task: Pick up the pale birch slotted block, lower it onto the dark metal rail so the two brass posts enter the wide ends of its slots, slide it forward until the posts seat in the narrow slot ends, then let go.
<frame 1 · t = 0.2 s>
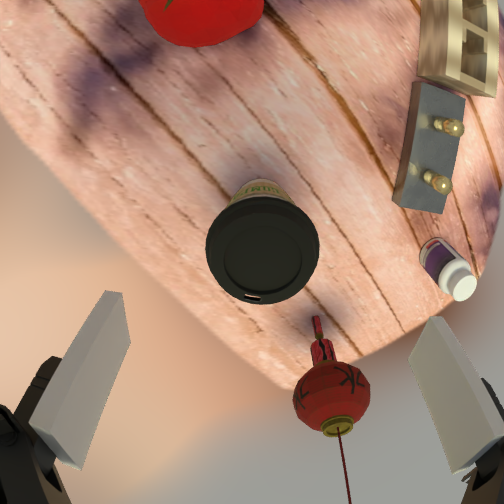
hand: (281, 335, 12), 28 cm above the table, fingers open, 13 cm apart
tomato: (211, 12, 28), on the table
post rail: (426, 147, 34), on the table
coffee cup: (261, 202, 39), on the table
slotted panel: (445, 32, 27), on the table
pill bottle: (433, 252, 42), on the table
lantern: (315, 317, 47), on the table
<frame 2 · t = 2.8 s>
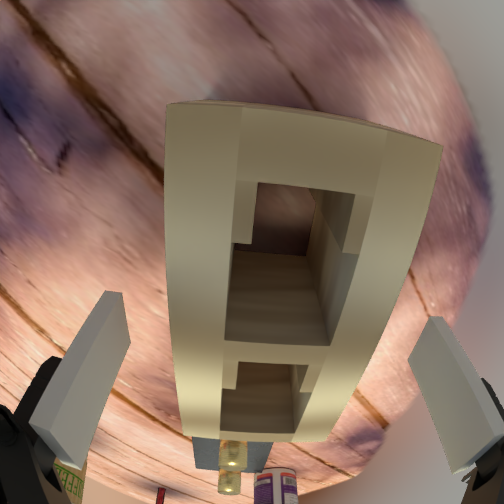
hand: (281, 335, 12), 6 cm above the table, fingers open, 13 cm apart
post rail: (233, 418, 25), on the table
coffee cup: (69, 428, 30), on the table
slotted panel: (270, 254, 17), on the table
pill bottle: (274, 472, 33), on the table
lantern: (162, 487, 38), on the table
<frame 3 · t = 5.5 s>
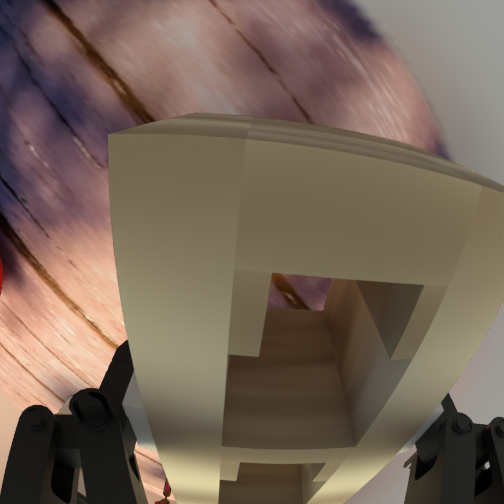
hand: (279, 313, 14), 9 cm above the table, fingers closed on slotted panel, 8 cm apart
coffee cup: (87, 408, 34), on the table
slotted panel: (279, 309, 14), point 9 cm above the table, touching gripper
lantern: (170, 473, 42), on the table
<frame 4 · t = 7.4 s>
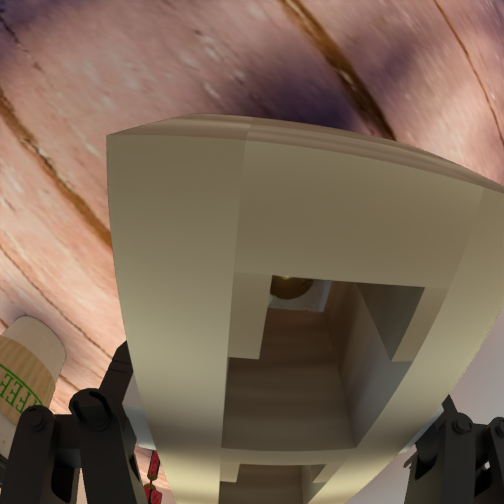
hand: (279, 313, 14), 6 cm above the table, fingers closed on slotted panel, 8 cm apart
post rail: (271, 270, 20), on the table
coffee cup: (40, 340, 24), on the table
slotted panel: (279, 310, 14), point 6 cm above the table, touching gripper
lantern: (158, 448, 32), on the table
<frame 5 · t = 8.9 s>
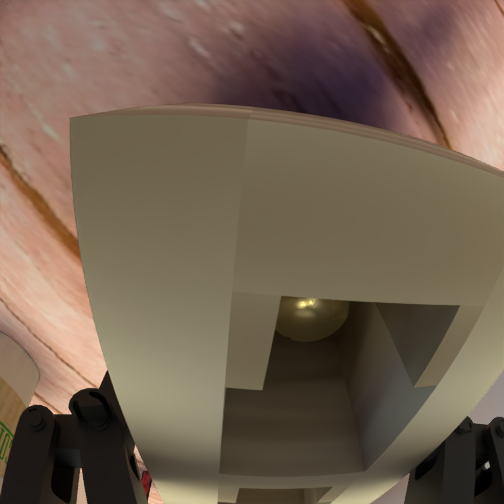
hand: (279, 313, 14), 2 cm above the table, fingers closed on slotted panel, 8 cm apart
post rail: (277, 285, 15), on the table
coffee cup: (12, 356, 19), on the table
slotted panel: (282, 318, 13), point 3 cm above the table, touching gripper
lantern: (148, 471, 28), on the table
when the fingers open (2 cm above the table, at t = 9.6 s): slotted panel stays where it is, resting on post rail.
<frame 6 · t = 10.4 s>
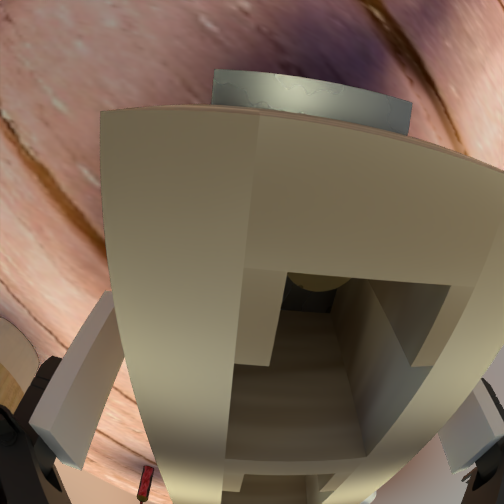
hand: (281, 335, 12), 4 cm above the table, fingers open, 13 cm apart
post rail: (284, 258, 15), on the table
coffee cup: (11, 343, 19), on the table
slotted panel: (284, 312, 13), point 2 cm above the table, touching post rail
lantern: (149, 466, 27), on the table
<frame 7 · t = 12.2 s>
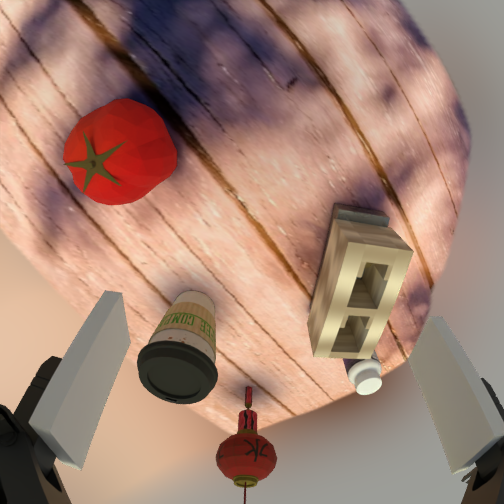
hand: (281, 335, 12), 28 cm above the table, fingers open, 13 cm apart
tomato: (142, 144, 36), on the table
post rail: (345, 261, 43), on the table
coffee cup: (194, 307, 47), on the table
slotted panel: (348, 278, 41), point 2 cm above the table, touching post rail
pill bottle: (354, 343, 49), on the table
lantern: (248, 387, 54), on the table
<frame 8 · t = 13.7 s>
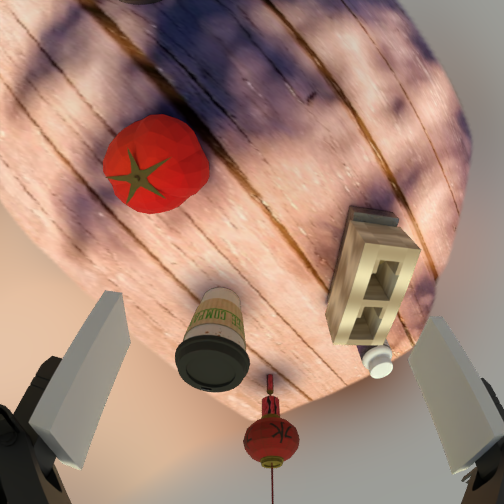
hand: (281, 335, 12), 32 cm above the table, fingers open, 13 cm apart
tomato: (172, 153, 40), on the table
post rail: (359, 257, 46), on the table
coffee cup: (221, 302, 51), on the table
slotted panel: (362, 273, 45), point 2 cm above the table, touching post rail
pill bottle: (367, 331, 54), on the table
lantern: (269, 375, 59), on the table
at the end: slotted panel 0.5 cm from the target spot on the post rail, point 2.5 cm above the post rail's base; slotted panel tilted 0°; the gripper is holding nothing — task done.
